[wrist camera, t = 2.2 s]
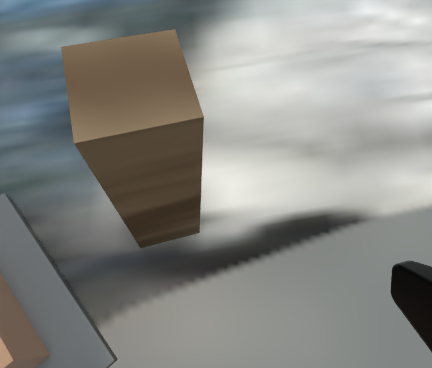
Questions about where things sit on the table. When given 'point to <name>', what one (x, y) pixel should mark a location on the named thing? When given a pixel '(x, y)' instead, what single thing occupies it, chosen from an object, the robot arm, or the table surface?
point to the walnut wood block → (139, 130)
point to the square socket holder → (40, 306)
